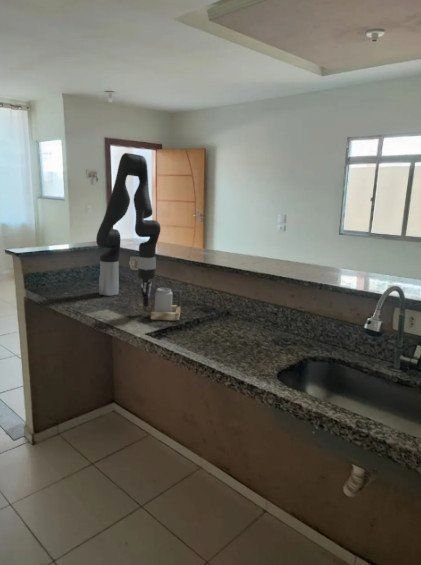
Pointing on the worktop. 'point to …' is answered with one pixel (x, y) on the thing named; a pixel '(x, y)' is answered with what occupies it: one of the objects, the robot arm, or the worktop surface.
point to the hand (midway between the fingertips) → (145, 305)
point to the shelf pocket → (169, 315)
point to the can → (163, 300)
